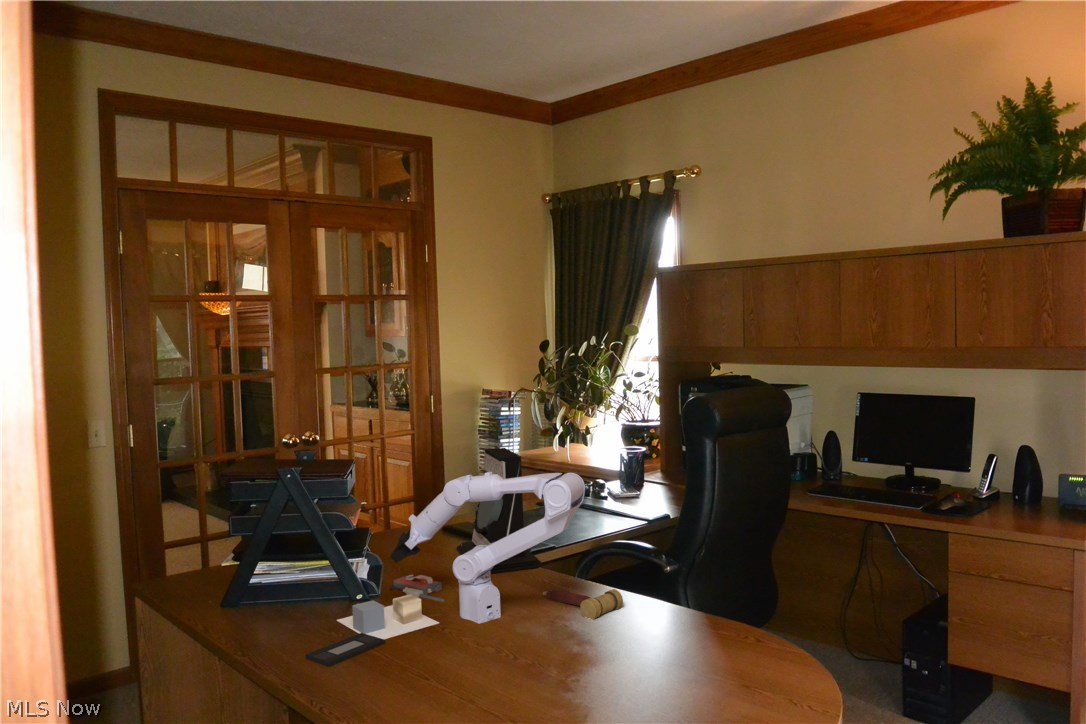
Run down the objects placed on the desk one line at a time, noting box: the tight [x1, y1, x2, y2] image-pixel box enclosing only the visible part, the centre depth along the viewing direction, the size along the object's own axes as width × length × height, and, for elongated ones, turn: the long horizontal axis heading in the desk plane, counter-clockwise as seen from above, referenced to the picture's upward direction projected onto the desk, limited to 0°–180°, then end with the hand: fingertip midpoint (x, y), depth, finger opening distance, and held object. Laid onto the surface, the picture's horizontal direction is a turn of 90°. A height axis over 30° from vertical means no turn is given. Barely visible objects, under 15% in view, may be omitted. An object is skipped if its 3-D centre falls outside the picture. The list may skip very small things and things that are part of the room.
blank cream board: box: [336, 604, 440, 640], centre depth 185 cm, size 18×16×1 cm
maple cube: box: [392, 594, 423, 624], centre depth 186 cm, size 5×5×5 cm
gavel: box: [542, 589, 624, 620], centre depth 195 cm, size 21×5×10 cm
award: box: [456, 447, 543, 575], centre depth 237 cm, size 30×19×30 cm, turn 17°
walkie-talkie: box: [389, 574, 446, 603], centre depth 206 cm, size 9×4×20 cm
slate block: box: [351, 600, 385, 634], centre depth 181 cm, size 5×5×5 cm
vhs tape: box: [305, 633, 386, 668], centre depth 169 cm, size 8×14×2 cm, turn 142°
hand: (399, 551), depth 195 cm, fingers open, 7 cm apart
